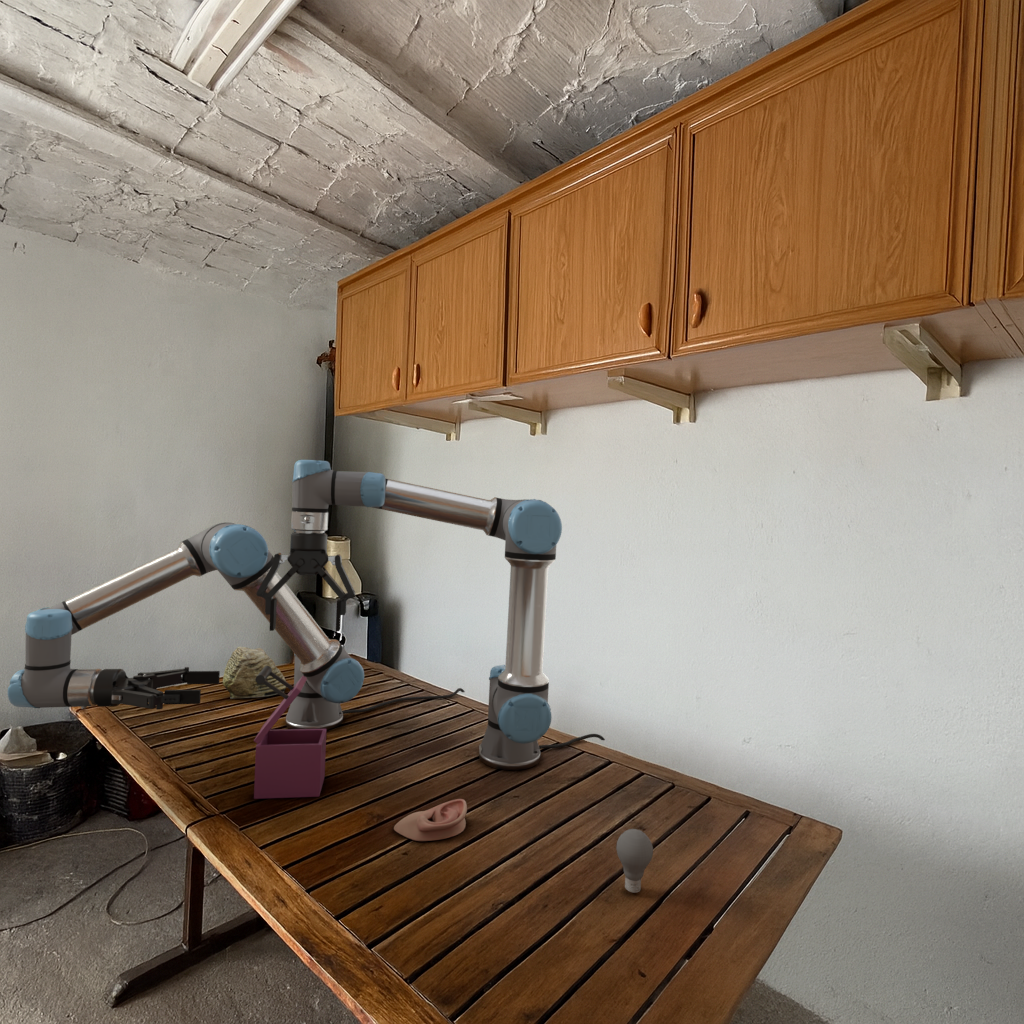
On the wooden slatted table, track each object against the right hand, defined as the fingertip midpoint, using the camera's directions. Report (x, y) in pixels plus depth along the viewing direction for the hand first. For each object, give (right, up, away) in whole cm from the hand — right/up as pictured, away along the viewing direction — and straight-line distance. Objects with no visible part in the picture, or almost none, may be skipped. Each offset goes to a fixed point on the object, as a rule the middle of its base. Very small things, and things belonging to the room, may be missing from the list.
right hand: (305, 629), depth 137 cm
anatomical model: (+29, -36, -14) cm, 48 cm away
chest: (-3, -34, 0) cm, 34 cm away
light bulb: (+65, -38, -31) cm, 81 cm away
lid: (-5, -17, 0) cm, 18 cm away
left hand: (-19, -11, -3) cm, 23 cm away
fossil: (-36, -32, +61) cm, 78 cm away
